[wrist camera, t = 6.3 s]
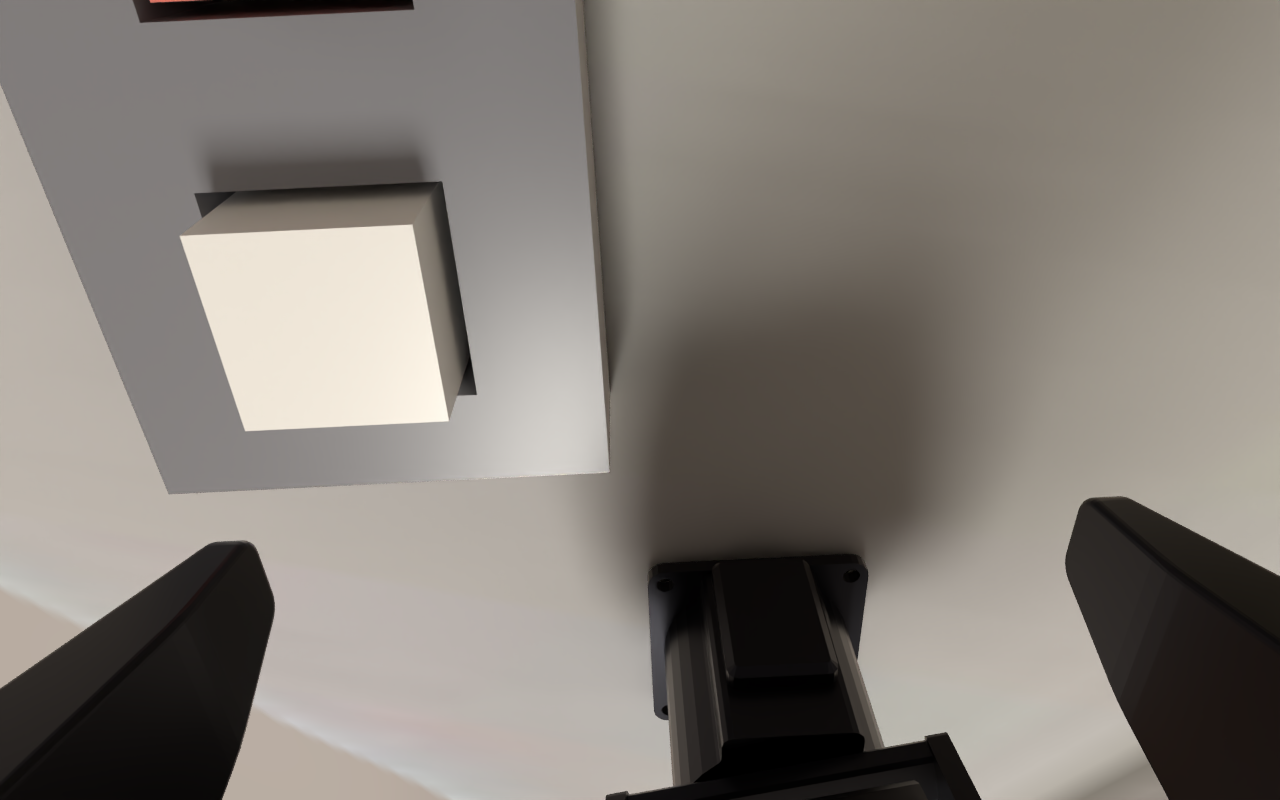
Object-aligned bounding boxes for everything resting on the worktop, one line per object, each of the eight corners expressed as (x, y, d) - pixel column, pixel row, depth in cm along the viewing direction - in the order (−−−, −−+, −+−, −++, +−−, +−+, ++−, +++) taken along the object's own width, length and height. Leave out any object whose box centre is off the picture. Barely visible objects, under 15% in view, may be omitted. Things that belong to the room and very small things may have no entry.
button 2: (471, 350, 19) (449, 420, 16) (295, 359, 19) (245, 431, 16) (442, 175, 17) (412, 224, 14) (245, 184, 17) (179, 235, 14)
